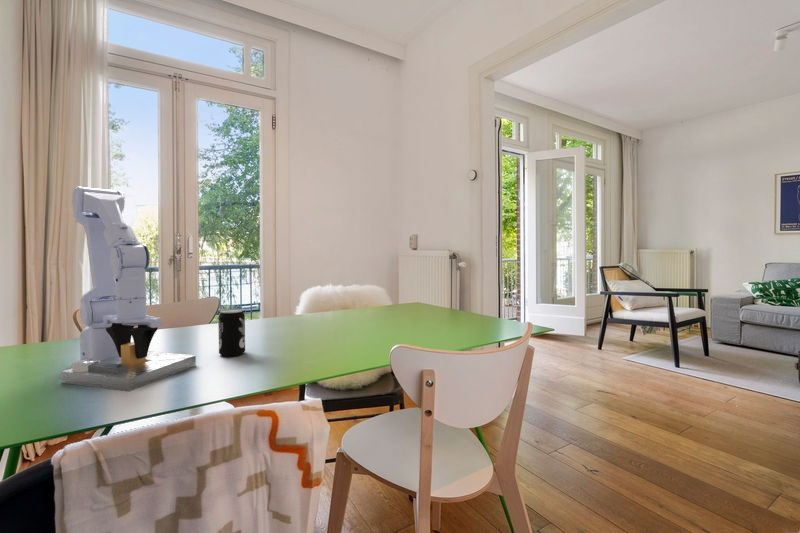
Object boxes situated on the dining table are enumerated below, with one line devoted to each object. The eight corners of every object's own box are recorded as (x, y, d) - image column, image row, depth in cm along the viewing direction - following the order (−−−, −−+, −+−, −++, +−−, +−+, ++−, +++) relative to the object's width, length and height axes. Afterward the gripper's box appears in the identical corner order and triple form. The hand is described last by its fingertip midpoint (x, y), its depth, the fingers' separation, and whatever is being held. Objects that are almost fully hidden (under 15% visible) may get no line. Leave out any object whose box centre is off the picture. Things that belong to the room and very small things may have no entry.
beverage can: (235, 358, 104) (235, 312, 103) (213, 356, 105) (212, 311, 104) (250, 351, 110) (249, 309, 110) (229, 350, 111) (228, 308, 111)
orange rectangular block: (121, 375, 89) (120, 345, 89) (137, 370, 93) (136, 341, 93) (130, 376, 89) (129, 346, 88) (146, 371, 93) (145, 341, 92)
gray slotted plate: (61, 382, 85) (61, 364, 84) (137, 359, 102) (136, 344, 102) (128, 391, 80) (128, 371, 80) (195, 365, 97) (195, 349, 97)
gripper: (88, 298, 88) (91, 359, 89) (141, 301, 84) (143, 364, 85) (118, 295, 95) (120, 351, 96) (168, 297, 91) (169, 355, 92)
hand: (133, 356), depth 91 cm, fingers open, 4 cm apart
